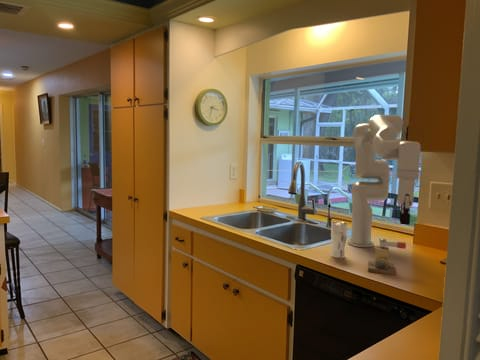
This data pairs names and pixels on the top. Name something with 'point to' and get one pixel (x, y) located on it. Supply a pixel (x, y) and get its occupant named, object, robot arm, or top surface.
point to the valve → (381, 262)
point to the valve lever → (392, 244)
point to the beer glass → (338, 239)
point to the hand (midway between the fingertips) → (404, 222)
